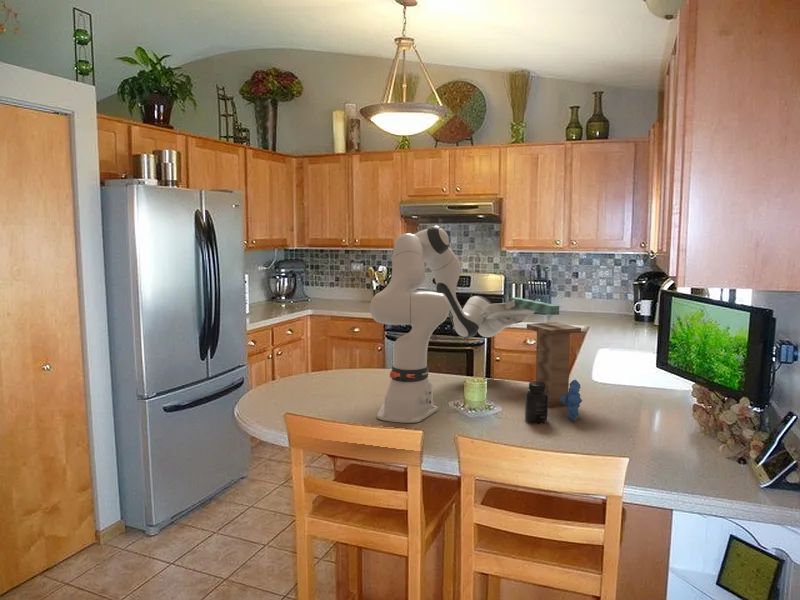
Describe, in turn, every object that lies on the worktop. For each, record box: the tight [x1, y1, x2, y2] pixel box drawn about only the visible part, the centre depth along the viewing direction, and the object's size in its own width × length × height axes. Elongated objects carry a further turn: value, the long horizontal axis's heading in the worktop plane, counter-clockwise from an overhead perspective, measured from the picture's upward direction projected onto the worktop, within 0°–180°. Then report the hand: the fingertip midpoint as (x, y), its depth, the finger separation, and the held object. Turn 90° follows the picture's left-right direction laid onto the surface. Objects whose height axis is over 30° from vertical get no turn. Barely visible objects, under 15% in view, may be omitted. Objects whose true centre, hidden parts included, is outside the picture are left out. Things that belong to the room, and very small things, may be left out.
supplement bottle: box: [524, 380, 549, 425], centre depth 182 cm, size 7×7×12 cm
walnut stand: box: [524, 321, 582, 409], centre depth 203 cm, size 14×12×26 cm
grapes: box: [560, 379, 583, 421], centre depth 185 cm, size 12×7×12 cm, turn 160°
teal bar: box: [509, 296, 560, 316], centre depth 212 cm, size 26×3×3 cm, turn 22°
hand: (520, 301), depth 220 cm, fingers closed on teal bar, 3 cm apart
